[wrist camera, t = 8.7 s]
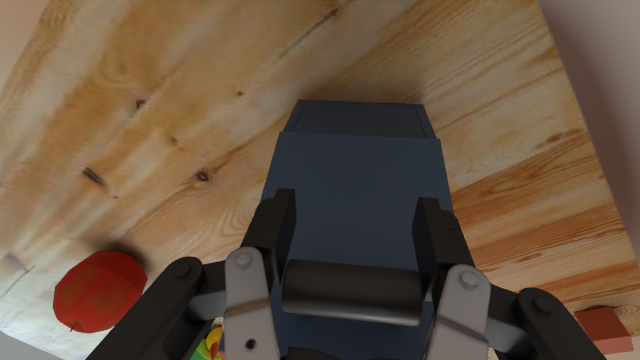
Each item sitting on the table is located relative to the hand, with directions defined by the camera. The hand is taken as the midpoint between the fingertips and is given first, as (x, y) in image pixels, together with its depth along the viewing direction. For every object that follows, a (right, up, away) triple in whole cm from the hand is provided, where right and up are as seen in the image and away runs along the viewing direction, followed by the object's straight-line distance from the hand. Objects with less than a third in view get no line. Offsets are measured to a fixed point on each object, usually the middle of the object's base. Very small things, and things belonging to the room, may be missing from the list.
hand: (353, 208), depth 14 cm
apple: (-32, -11, +34) cm, 48 cm away
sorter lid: (0, -2, +4) cm, 5 cm away
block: (+37, -18, +28) cm, 50 cm away
